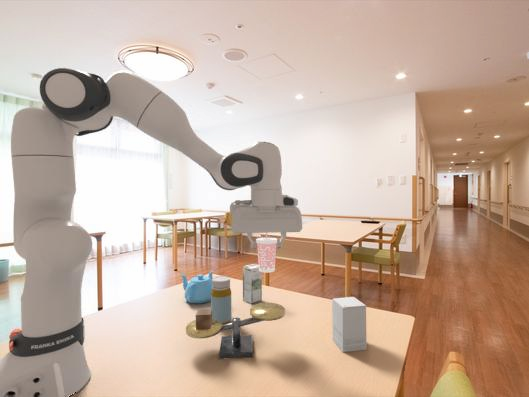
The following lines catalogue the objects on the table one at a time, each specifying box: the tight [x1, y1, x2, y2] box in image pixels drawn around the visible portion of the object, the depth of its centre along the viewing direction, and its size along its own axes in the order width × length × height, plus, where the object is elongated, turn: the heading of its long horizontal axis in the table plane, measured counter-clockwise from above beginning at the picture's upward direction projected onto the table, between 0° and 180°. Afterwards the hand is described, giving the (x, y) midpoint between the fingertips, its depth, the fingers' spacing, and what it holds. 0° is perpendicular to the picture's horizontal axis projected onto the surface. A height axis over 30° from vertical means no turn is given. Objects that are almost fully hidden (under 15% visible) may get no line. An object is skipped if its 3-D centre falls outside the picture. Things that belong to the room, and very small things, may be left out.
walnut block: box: [195, 308, 212, 330], centre depth 79 cm, size 4×4×4 cm
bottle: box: [210, 275, 233, 325], centre depth 96 cm, size 7×7×15 cm
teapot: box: [180, 269, 214, 304], centre depth 118 cm, size 15×15×10 cm
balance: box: [185, 302, 286, 360], centre depth 79 cm, size 28×10×11 cm, turn 95°
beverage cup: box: [255, 233, 278, 274], centre depth 80 cm, size 6×6×14 cm
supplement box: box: [331, 296, 367, 353], centre depth 81 cm, size 7×7×13 cm
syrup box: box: [242, 263, 263, 305], centre depth 115 cm, size 6×6×14 cm
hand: (266, 248), depth 80 cm, fingers closed on beverage cup, 6 cm apart
